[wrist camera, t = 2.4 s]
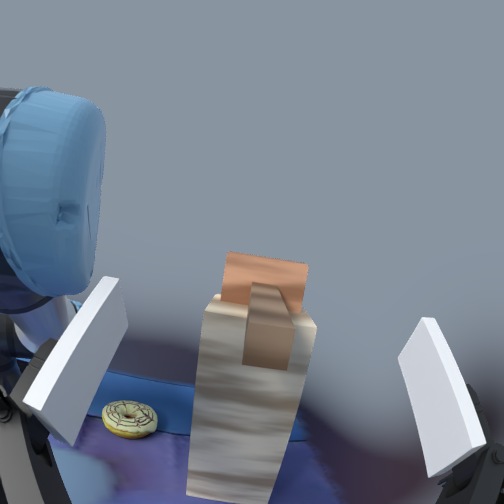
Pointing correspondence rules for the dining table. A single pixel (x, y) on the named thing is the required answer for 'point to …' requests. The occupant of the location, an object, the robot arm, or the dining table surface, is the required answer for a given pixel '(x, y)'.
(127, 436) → the decorated donut
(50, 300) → the robot arm
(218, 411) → the stand
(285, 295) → the wooden mallet
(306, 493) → the dining table surface
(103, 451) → the dining table surface
